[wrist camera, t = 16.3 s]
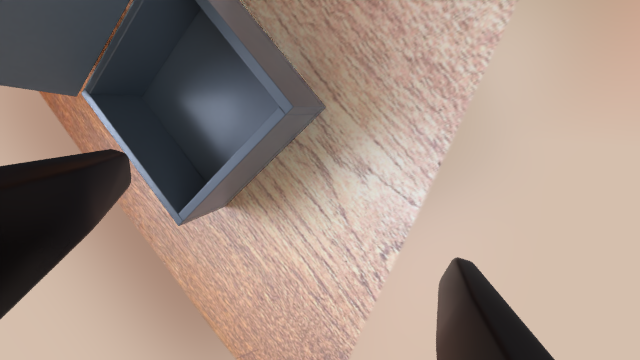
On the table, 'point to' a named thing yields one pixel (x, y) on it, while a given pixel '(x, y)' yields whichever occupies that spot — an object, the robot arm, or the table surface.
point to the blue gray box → (198, 100)
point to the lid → (54, 41)
